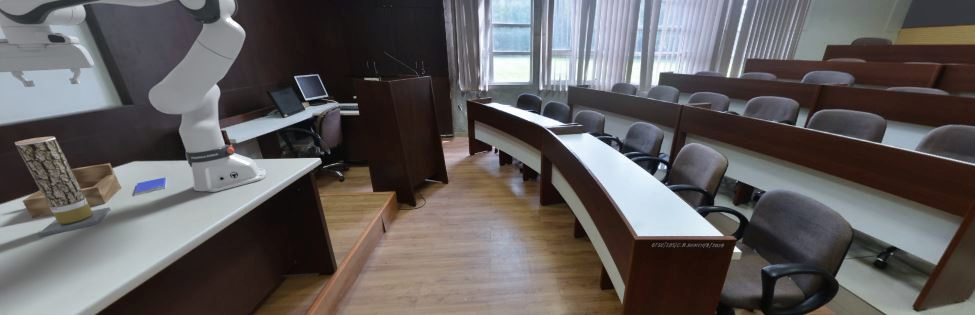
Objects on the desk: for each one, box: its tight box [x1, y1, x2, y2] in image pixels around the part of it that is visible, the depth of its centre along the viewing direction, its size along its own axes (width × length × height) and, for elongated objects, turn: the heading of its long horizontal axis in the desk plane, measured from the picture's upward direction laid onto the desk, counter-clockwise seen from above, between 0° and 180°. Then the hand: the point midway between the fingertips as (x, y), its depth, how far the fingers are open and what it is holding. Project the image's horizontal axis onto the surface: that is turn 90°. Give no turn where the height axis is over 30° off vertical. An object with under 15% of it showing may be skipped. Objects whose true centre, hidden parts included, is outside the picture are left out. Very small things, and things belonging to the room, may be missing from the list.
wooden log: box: [14, 135, 93, 224], centre depth 93 cm, size 7×7×25 cm
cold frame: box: [22, 162, 122, 219], centre depth 110 cm, size 16×16×10 cm
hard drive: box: [133, 177, 168, 196], centre depth 122 cm, size 2×8×12 cm
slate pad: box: [38, 206, 111, 237], centre depth 98 cm, size 11×11×1 cm
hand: (53, 85), depth 101 cm, fingers open, 8 cm apart
